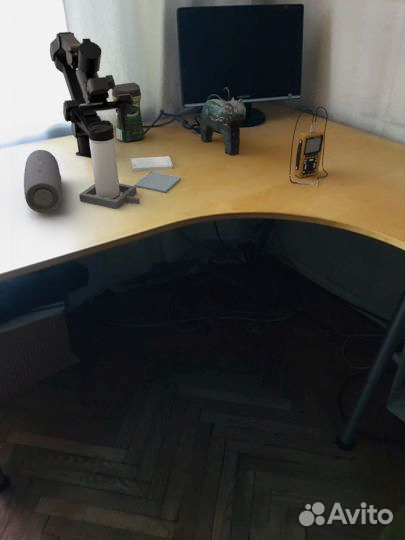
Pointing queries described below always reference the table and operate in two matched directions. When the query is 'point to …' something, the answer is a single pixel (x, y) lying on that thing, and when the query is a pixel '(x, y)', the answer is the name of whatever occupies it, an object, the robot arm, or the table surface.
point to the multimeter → (309, 151)
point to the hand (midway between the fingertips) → (107, 133)
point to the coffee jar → (132, 119)
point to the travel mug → (104, 159)
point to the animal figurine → (223, 121)
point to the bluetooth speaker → (42, 182)
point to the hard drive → (151, 163)
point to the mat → (157, 182)
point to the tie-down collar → (111, 203)
